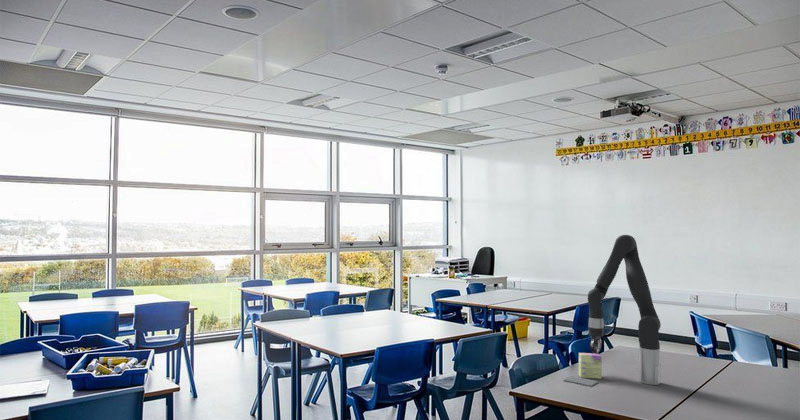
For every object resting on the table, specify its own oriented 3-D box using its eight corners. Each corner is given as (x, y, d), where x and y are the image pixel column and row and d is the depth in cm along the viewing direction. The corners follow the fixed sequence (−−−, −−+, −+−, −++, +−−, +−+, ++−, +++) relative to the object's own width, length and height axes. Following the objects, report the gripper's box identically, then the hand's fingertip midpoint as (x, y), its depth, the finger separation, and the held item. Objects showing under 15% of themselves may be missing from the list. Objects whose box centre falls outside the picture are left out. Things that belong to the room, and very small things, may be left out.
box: (598, 376, 278) (598, 353, 279) (601, 379, 272) (601, 355, 273) (578, 375, 279) (578, 352, 280) (580, 378, 274) (580, 354, 274)
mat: (598, 382, 266) (598, 381, 266) (591, 386, 258) (591, 385, 258) (571, 377, 275) (571, 375, 275) (563, 381, 267) (563, 379, 267)
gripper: (598, 329, 276) (598, 362, 275) (607, 325, 286) (607, 358, 285) (584, 327, 281) (584, 360, 280) (593, 324, 291) (593, 356, 290)
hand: (595, 359), depth 283 cm, fingers closed
